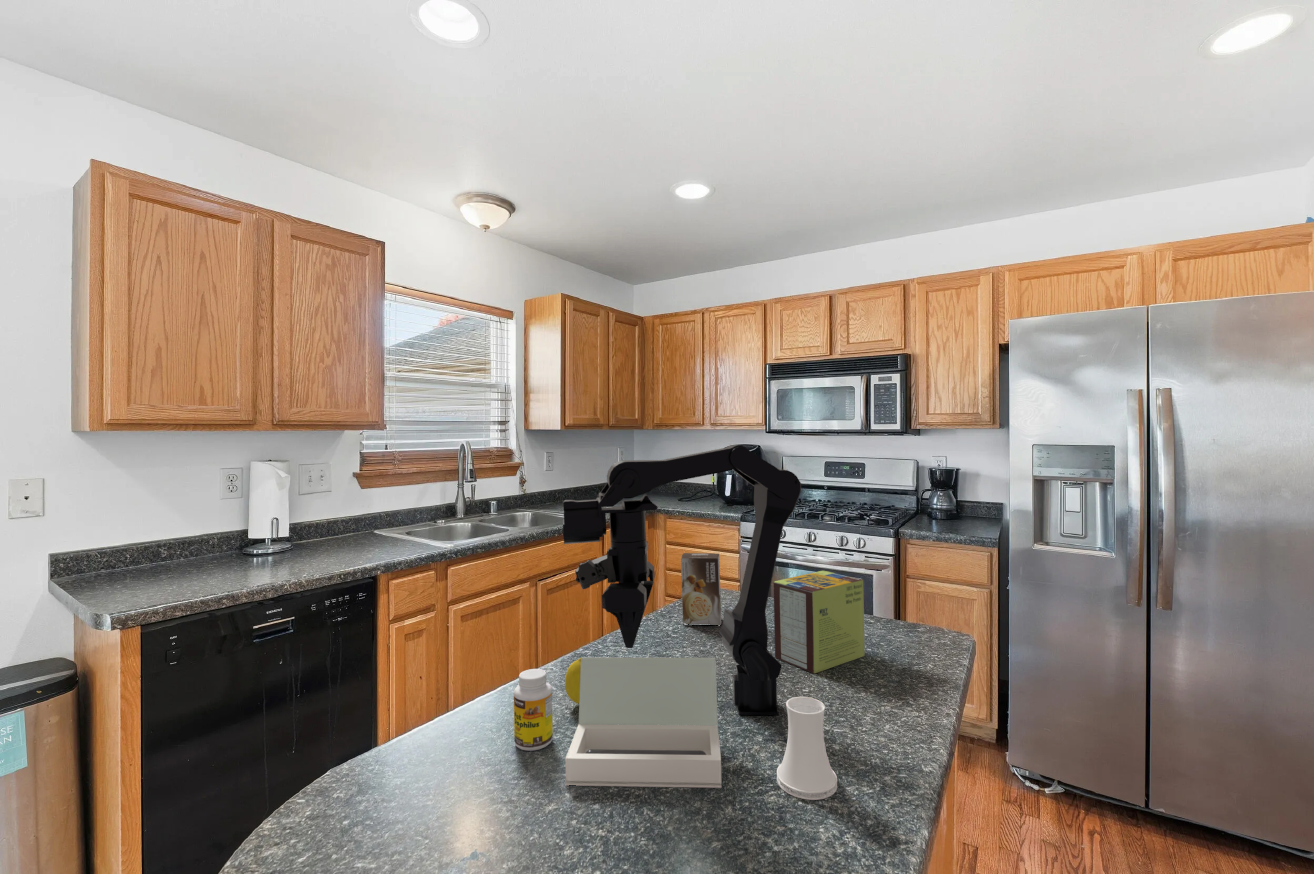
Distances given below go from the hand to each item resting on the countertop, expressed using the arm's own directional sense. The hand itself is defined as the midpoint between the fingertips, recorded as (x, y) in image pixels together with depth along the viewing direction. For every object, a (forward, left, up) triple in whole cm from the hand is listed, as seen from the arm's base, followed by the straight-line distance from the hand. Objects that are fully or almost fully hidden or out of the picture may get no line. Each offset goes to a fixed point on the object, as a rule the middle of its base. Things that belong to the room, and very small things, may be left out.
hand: (633, 637), depth 94 cm
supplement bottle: (+14, +8, -13) cm, 21 cm away
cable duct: (-3, +14, -13) cm, 19 cm away
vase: (-24, +17, -13) cm, 32 cm away
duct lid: (-3, +8, -5) cm, 10 cm away
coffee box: (-12, -48, -13) cm, 51 cm away
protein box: (-35, -26, -13) cm, 46 cm away
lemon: (+9, -4, -13) cm, 17 cm away
